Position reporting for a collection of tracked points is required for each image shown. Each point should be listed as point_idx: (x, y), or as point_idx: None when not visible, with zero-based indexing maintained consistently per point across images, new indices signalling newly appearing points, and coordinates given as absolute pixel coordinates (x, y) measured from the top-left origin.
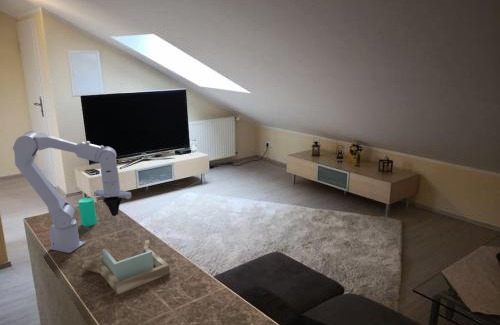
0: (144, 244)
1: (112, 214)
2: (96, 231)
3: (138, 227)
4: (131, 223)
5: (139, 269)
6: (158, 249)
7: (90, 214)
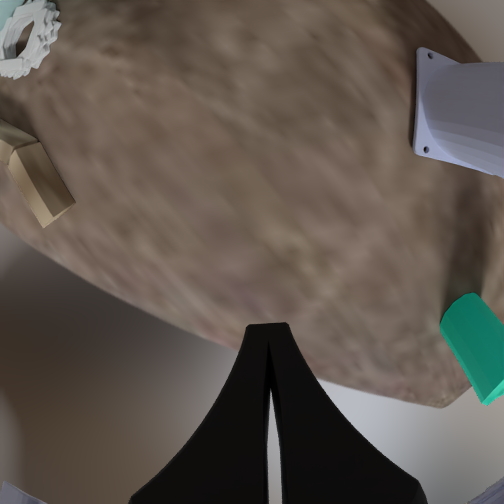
0: (30, 181)
1: (273, 332)
2: (418, 272)
3: None
4: None
5: None
6: None
7: (472, 338)
